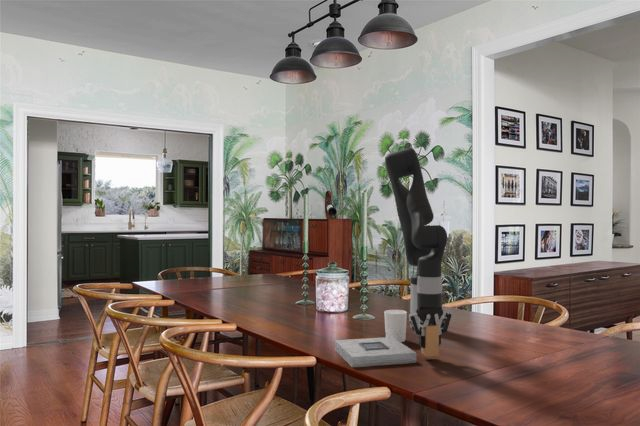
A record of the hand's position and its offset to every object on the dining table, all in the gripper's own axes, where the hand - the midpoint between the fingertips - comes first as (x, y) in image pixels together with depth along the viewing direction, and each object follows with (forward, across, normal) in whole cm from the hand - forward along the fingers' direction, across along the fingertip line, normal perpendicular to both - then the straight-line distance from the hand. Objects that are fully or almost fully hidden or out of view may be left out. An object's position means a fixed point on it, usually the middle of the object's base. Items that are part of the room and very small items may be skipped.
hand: (429, 346), depth 155 cm
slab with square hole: (+4, +15, -8) cm, 18 cm away
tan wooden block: (+2, 0, 0) cm, 2 cm away
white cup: (+4, +1, -25) cm, 25 cm away
